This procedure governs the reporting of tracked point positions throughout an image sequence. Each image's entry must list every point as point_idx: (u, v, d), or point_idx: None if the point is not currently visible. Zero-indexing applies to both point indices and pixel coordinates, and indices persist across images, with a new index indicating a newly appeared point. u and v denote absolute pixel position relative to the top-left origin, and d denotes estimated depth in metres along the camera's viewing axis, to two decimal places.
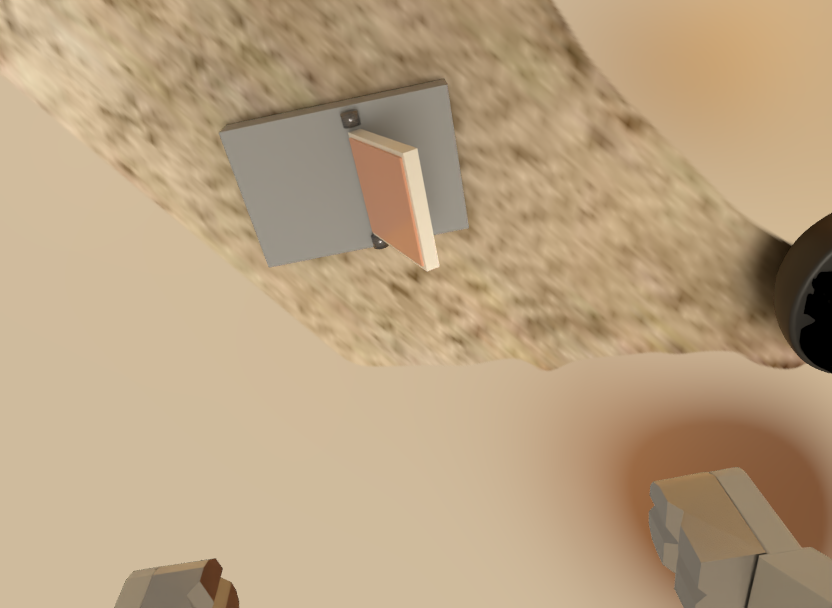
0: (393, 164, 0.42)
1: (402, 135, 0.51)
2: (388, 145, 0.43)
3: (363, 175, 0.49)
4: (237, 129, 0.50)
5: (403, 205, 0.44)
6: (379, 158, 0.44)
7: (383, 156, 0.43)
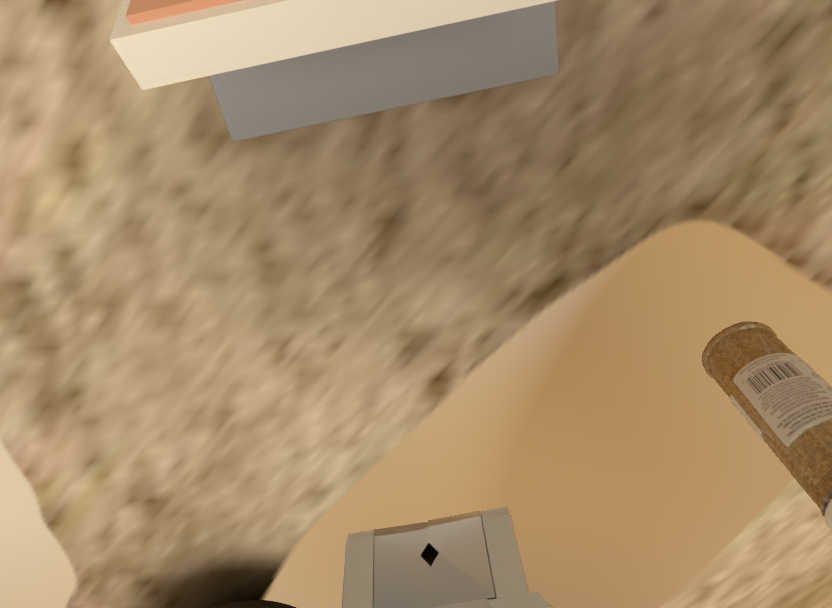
0: None
1: None
2: None
3: None
4: None
5: None
6: None
7: None
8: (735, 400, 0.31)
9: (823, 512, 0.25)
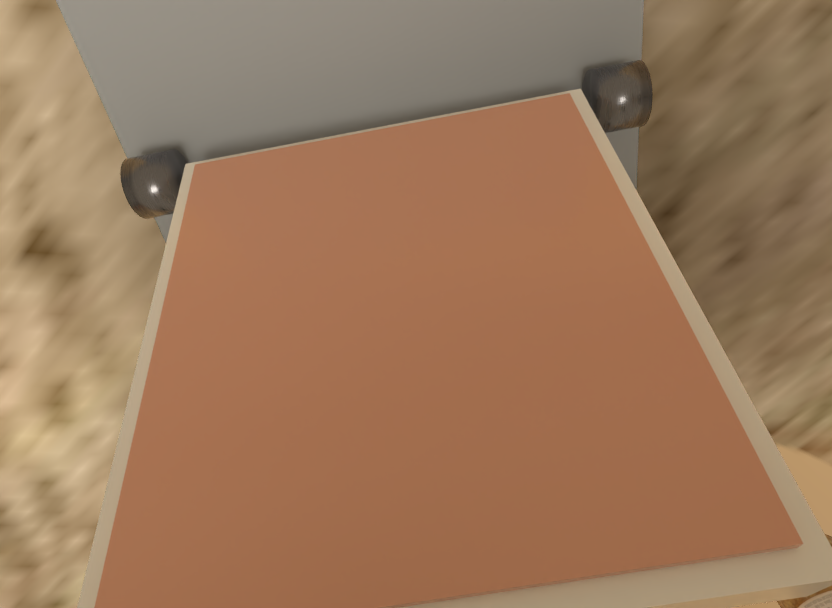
0: (697, 451, 0.08)
1: None
2: None
3: (447, 155, 0.12)
4: None
5: (460, 501, 0.08)
6: (631, 302, 0.09)
7: (673, 346, 0.09)
8: None
9: None
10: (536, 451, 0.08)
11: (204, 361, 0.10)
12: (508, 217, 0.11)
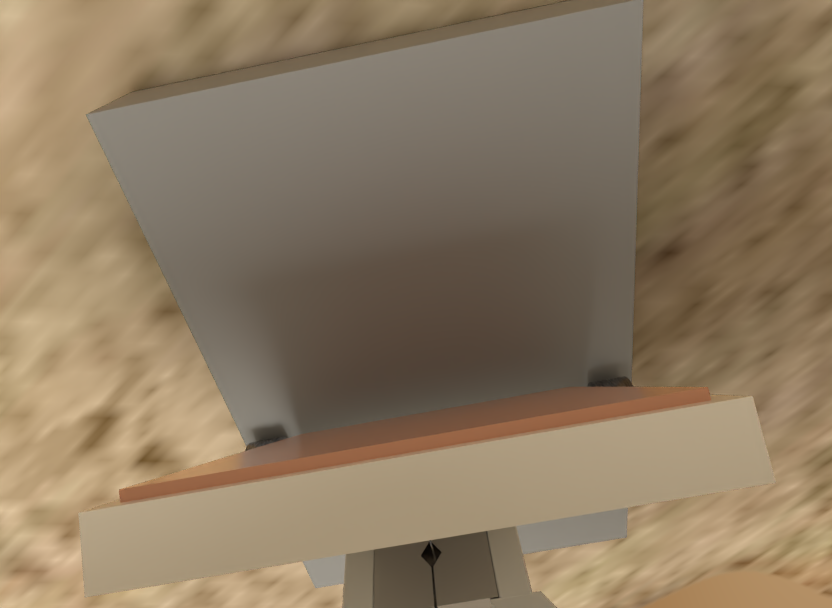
0: (631, 394, 0.10)
1: None
2: None
3: (477, 404, 0.17)
4: (637, 74, 0.14)
5: (442, 427, 0.10)
6: (594, 392, 0.12)
7: (622, 389, 0.11)
8: None
9: None
10: (507, 414, 0.10)
11: (272, 448, 0.13)
12: (514, 401, 0.15)
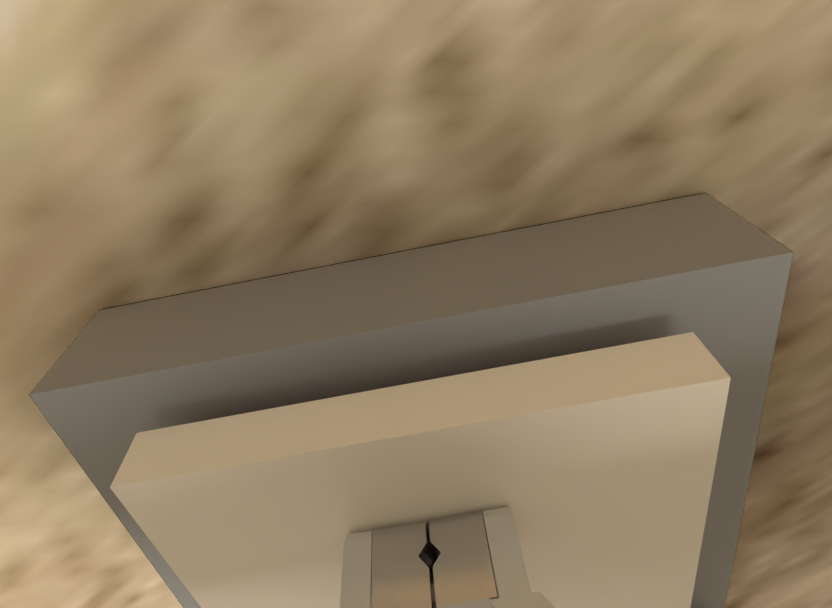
0: None
1: None
2: None
3: None
4: (772, 332, 0.10)
5: None
6: None
7: None
8: None
9: None
10: None
11: None
12: None
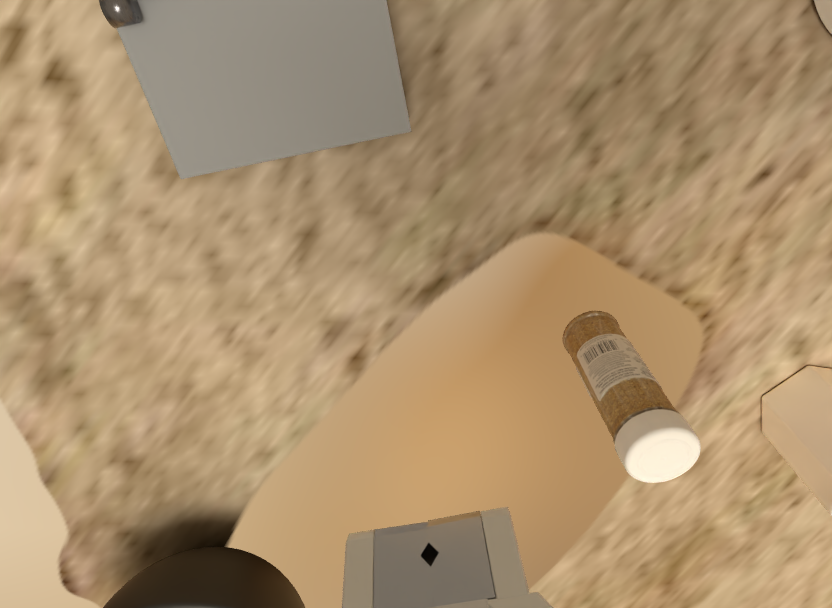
0: None
1: (329, 56, 0.30)
2: None
3: None
4: None
5: None
6: None
7: None
8: (578, 370, 0.41)
9: None
10: None
11: None
12: None
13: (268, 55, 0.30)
